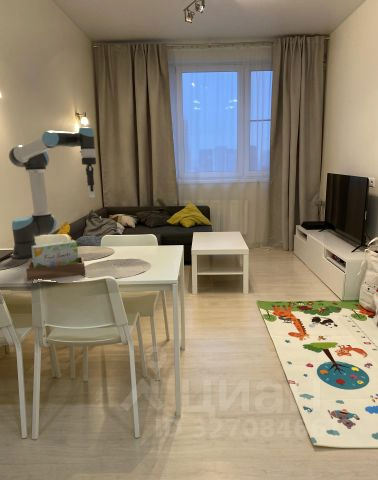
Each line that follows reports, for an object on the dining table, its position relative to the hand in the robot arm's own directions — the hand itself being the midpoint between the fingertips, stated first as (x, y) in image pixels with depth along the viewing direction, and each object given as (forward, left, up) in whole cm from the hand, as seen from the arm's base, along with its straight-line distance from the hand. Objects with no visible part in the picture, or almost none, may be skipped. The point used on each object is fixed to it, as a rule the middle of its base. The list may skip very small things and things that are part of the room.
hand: (91, 196), depth 203 cm
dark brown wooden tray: (+18, -21, -37) cm, 46 cm away
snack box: (+18, -21, -36) cm, 45 cm away
